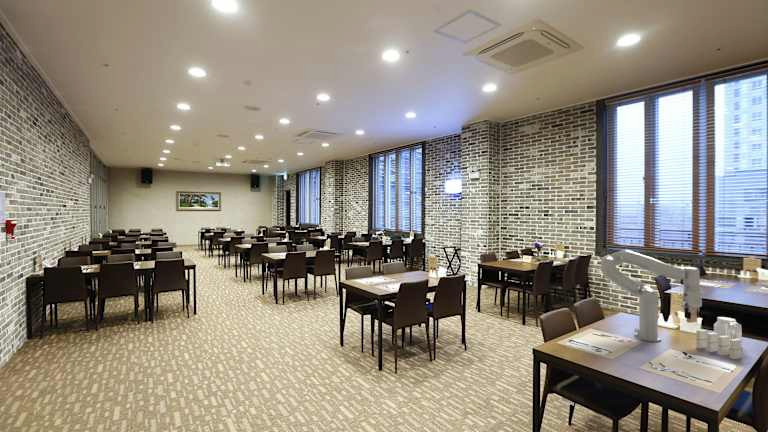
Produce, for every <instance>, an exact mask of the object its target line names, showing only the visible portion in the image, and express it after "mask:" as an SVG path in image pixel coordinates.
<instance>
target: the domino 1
mask: <svg viewBox="0 0 768 432" xmlns="http://www.w3.org/2000/svg"><path fill="white" fill-rule="evenodd" d="M688 307H689V306H688ZM687 309H688V308H687ZM690 312H691V319H688V318H686V323H690V324H691V323H697V322H698V318H697V307H696V308H691V310H690Z"/></svg>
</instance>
